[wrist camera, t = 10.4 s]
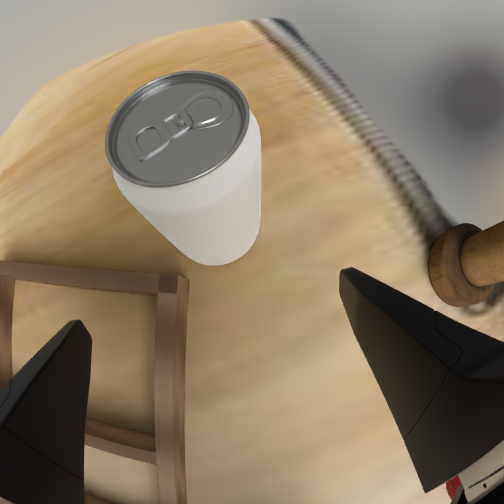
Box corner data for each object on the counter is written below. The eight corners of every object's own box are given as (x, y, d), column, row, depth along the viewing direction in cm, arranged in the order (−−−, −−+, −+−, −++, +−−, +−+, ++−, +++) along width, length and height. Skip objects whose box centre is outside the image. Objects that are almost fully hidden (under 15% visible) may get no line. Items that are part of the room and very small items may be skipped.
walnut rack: (188, 530, 15) (181, 549, 12) (20, 468, 16) (4, 476, 13) (189, 280, 20) (178, 274, 18) (9, 265, 21) (-11, 259, 18)
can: (277, 236, 21) (298, 137, 9) (199, 284, 20) (127, 236, 9) (231, 169, 22) (210, 46, 11) (159, 211, 22) (81, 116, 10)
